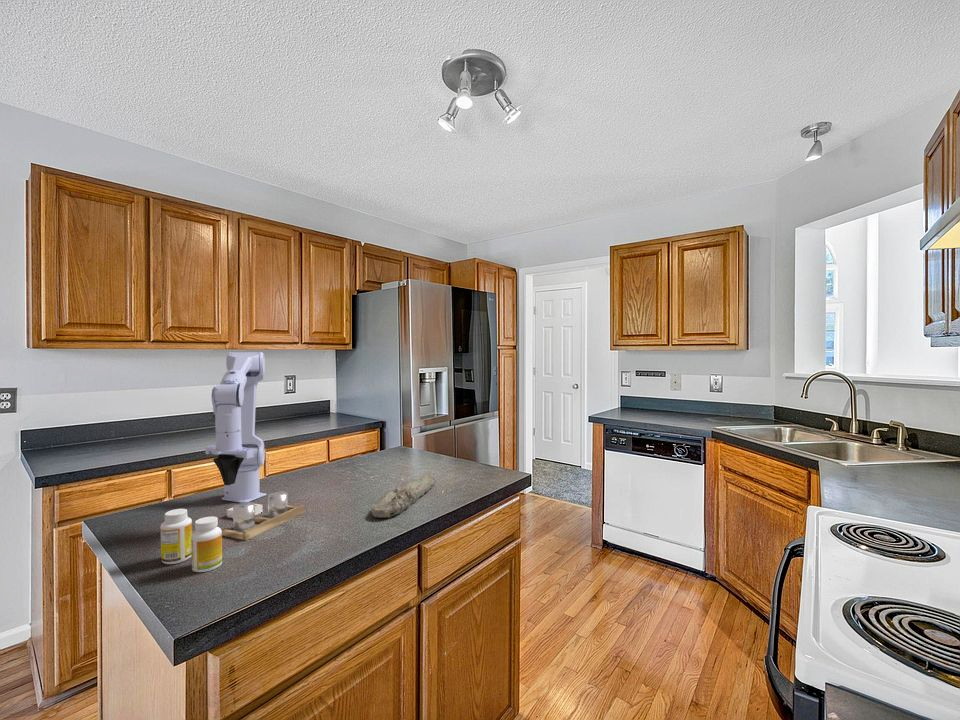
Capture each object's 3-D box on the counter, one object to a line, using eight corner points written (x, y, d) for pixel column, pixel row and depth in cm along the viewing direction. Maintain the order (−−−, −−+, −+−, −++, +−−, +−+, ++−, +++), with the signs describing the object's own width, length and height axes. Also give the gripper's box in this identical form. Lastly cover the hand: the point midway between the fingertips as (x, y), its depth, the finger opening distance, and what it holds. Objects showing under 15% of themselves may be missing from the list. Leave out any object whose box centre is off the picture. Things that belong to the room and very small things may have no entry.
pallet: (221, 535, 106) (221, 527, 106) (282, 508, 124) (282, 501, 124) (246, 540, 103) (245, 532, 103) (304, 512, 121) (304, 505, 121)
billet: (228, 531, 108) (228, 507, 108) (245, 524, 113) (245, 501, 113) (243, 534, 107) (243, 509, 106) (259, 526, 111) (259, 503, 111)
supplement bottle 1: (187, 550, 98) (186, 505, 98) (196, 558, 94) (195, 511, 94) (157, 560, 94) (156, 512, 93) (165, 568, 90) (164, 518, 90)
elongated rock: (443, 487, 147) (416, 486, 150) (443, 471, 148) (415, 471, 150) (396, 521, 114) (362, 519, 116) (396, 500, 114) (361, 499, 116)
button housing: (227, 517, 118) (227, 509, 118) (246, 509, 123) (246, 502, 123) (243, 520, 115) (243, 512, 115) (262, 512, 121) (262, 504, 121)
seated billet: (263, 518, 116) (263, 496, 116) (278, 512, 121) (277, 490, 121) (277, 521, 115) (277, 498, 115) (291, 514, 119) (291, 492, 119)
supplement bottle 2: (228, 562, 92) (227, 516, 92) (205, 575, 87) (204, 526, 87) (209, 558, 94) (208, 513, 94) (185, 570, 89) (184, 523, 89)
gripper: (193, 432, 111) (194, 485, 111) (235, 436, 106) (236, 492, 106) (219, 427, 118) (220, 477, 118) (259, 430, 112) (260, 483, 113)
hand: (229, 484), depth 113 cm, fingers closed
